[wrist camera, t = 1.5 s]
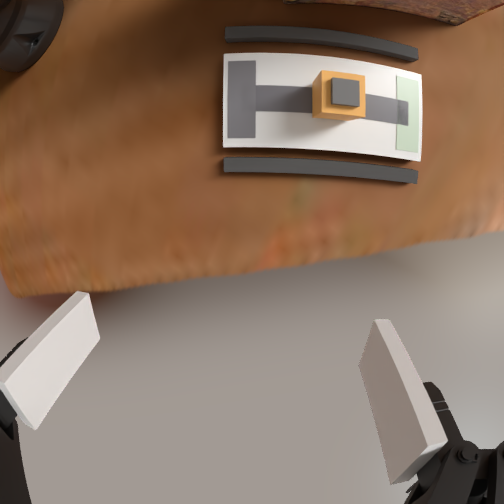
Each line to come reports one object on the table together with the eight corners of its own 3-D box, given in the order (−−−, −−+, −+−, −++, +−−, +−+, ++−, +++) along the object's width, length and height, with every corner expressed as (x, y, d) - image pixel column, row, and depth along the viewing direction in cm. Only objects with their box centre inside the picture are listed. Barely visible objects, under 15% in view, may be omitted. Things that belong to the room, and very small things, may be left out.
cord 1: (227, 31, 26) (225, 26, 25) (412, 51, 25) (417, 48, 23) (226, 42, 27) (224, 38, 25) (413, 62, 26) (418, 59, 24)
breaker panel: (226, 58, 28) (223, 53, 26) (414, 77, 26) (421, 74, 24) (225, 146, 32) (223, 147, 30) (413, 160, 30) (420, 161, 28)
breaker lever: (312, 82, 26) (323, 67, 20) (348, 86, 26) (367, 73, 20) (312, 117, 28) (323, 111, 21) (348, 120, 28) (368, 116, 21)
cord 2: (225, 157, 32) (223, 157, 31) (412, 169, 31) (418, 171, 29) (226, 170, 33) (223, 171, 31) (411, 181, 31) (416, 183, 30)
